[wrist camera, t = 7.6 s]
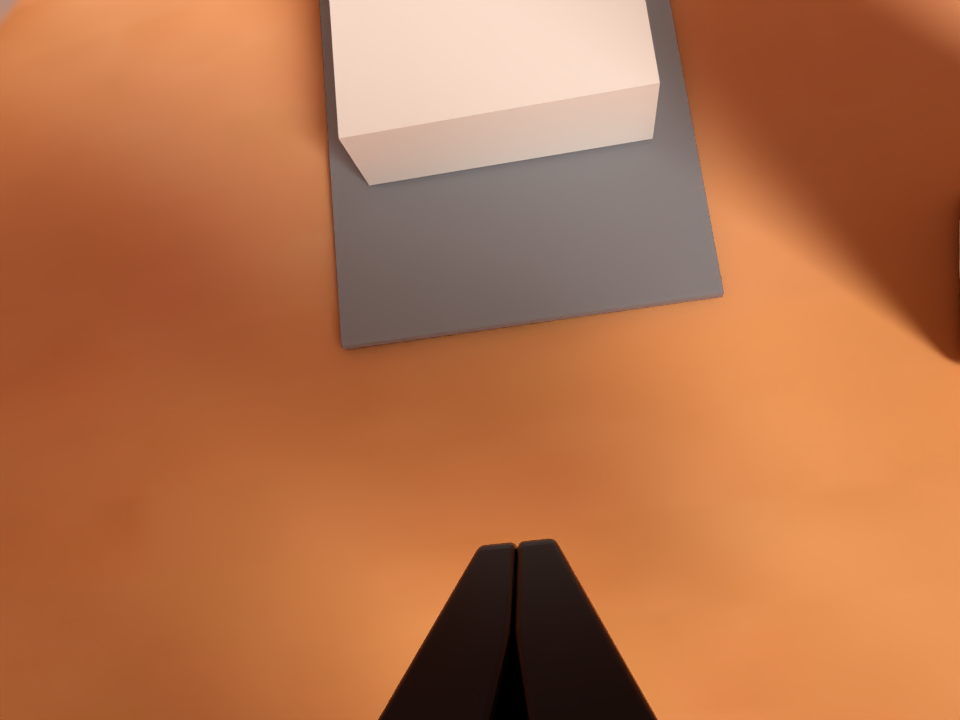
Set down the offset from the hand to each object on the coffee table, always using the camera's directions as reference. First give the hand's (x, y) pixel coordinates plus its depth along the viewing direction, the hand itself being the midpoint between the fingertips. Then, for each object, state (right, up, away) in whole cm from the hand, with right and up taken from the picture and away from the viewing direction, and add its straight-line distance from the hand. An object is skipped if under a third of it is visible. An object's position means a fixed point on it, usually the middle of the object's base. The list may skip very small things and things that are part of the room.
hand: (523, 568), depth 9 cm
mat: (0, +10, +12) cm, 15 cm away
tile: (0, +7, +10) cm, 12 cm away
